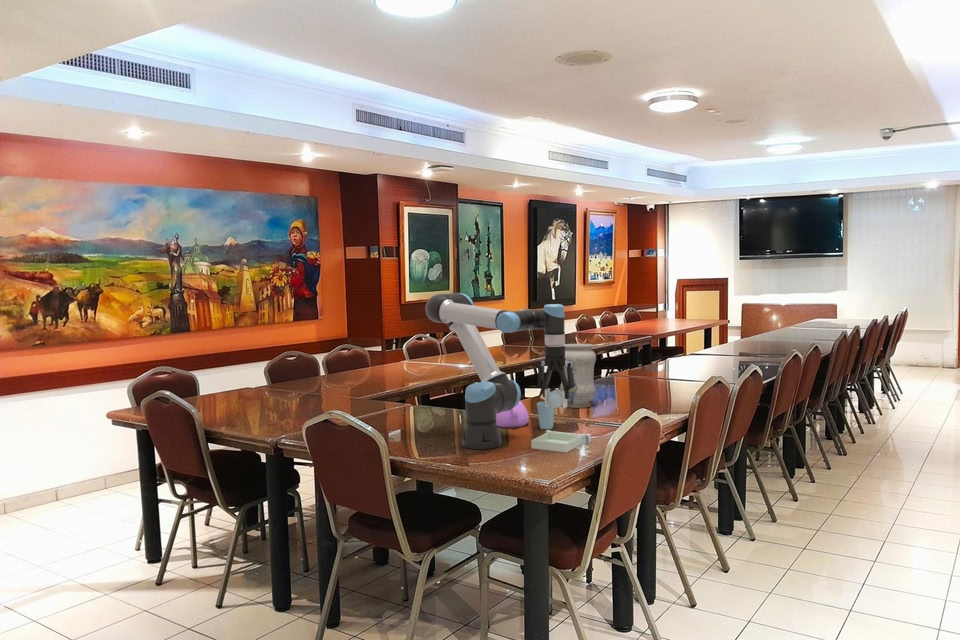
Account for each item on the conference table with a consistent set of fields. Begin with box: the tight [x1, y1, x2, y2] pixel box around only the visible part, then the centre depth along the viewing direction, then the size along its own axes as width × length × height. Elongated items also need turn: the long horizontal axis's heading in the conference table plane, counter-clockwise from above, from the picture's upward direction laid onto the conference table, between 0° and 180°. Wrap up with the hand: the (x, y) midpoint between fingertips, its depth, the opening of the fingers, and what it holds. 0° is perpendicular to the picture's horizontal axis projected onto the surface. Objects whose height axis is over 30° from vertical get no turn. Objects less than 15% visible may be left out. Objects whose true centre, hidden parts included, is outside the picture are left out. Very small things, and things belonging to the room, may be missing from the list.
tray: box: [530, 432, 583, 453], centre depth 259 cm, size 14×14×3 cm
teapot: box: [496, 400, 530, 429], centre depth 299 cm, size 22×16×12 cm
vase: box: [558, 343, 597, 409], centre depth 335 cm, size 18×18×30 cm
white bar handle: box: [544, 429, 591, 444], centre depth 267 cm, size 18×2×3 cm, turn 59°
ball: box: [547, 389, 563, 409], centre depth 258 cm, size 6×6×6 cm
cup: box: [536, 401, 555, 430], centre depth 290 cm, size 8×8×10 cm
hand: (556, 406), depth 259 cm, fingers closed on ball, 6 cm apart
